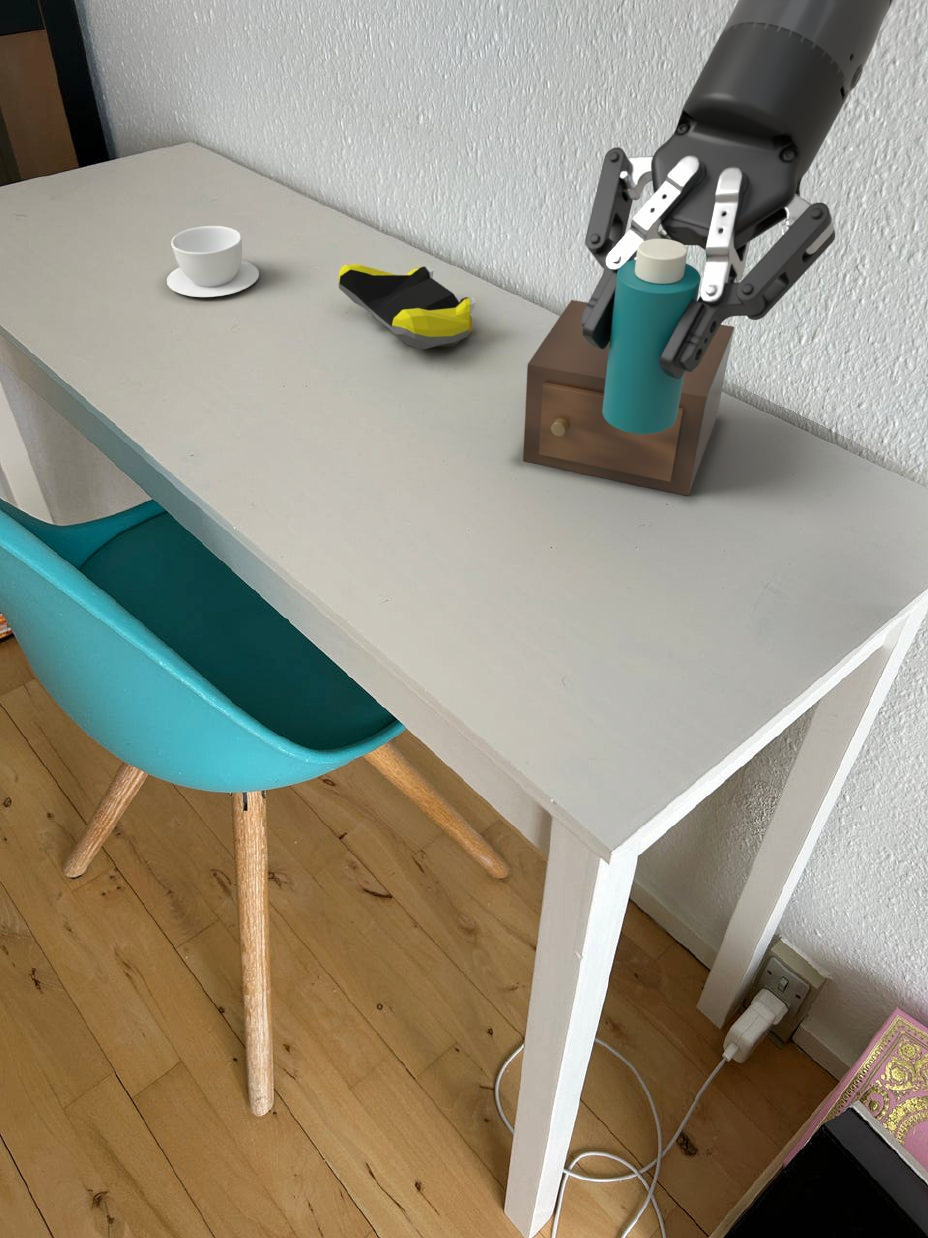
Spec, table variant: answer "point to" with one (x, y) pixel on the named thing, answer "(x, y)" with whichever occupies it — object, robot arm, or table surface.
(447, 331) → the multicoloured piece
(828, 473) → the table surface
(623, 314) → the water bottle
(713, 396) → the storage box
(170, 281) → the teacup
